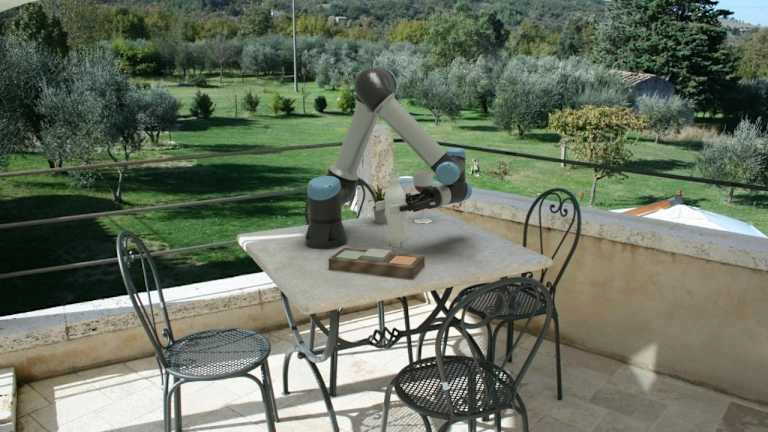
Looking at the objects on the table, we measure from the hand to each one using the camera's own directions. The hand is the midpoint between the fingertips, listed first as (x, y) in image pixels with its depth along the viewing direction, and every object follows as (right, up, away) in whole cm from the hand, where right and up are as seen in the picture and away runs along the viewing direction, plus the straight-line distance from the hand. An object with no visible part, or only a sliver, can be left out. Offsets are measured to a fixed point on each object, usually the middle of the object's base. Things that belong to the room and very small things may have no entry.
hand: (383, 208), depth 200 cm
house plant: (-2, -5, +49) cm, 49 cm away
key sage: (-11, -18, -1) cm, 21 cm away
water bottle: (+4, -13, +7) cm, 15 cm away
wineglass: (+16, -5, +49) cm, 51 cm away
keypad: (-2, -19, -4) cm, 19 cm away
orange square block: (+6, -19, -7) cm, 21 cm away
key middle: (-2, -17, -4) cm, 18 cm away
